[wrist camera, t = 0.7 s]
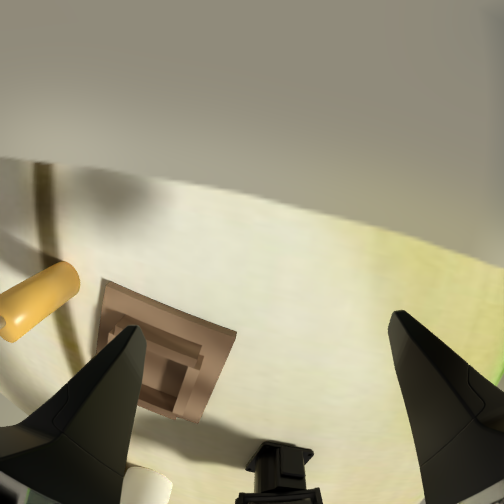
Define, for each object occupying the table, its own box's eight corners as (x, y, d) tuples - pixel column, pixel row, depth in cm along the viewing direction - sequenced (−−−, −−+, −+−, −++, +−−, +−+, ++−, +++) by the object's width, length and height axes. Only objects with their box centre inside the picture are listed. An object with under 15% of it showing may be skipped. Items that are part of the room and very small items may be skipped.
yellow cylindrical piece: (78, 302, 25) (-3, 370, 13) (51, 288, 25) (-33, 345, 13) (82, 269, 25) (-10, 330, 12) (54, 255, 24) (-39, 305, 12)
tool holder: (199, 417, 28) (194, 438, 25) (97, 375, 28) (84, 392, 25) (236, 331, 25) (233, 352, 22) (110, 281, 25) (93, 294, 22)
